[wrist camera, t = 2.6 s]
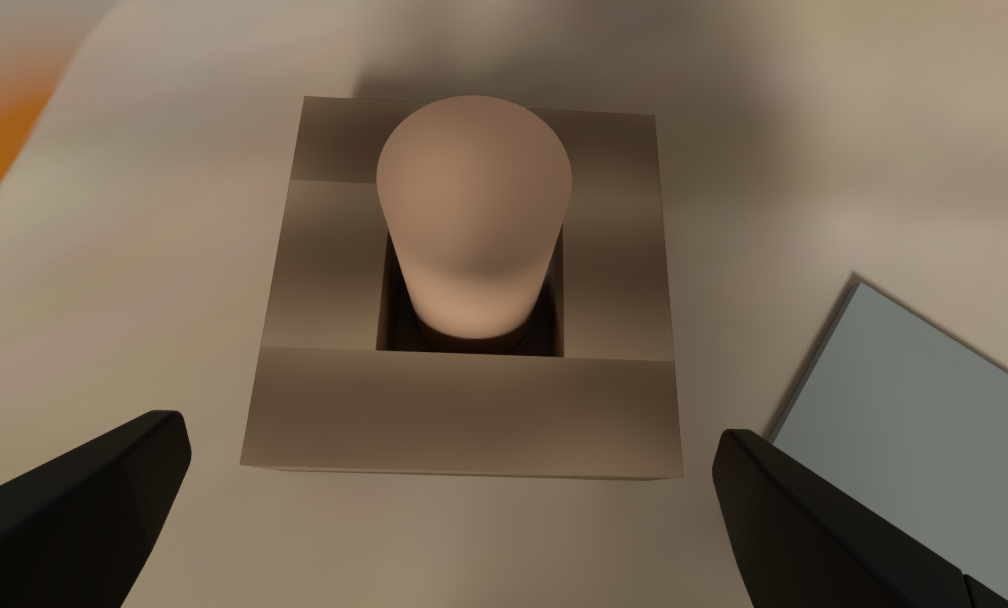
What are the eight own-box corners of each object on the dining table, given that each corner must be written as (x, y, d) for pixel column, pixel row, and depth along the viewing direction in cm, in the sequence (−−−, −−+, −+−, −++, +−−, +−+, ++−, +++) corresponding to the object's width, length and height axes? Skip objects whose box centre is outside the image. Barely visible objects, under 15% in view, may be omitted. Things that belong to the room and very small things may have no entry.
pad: (1022, 735, 19) (1038, 743, 19) (725, 518, 21) (732, 519, 21) (1113, 452, 23) (1130, 450, 22) (852, 286, 25) (860, 282, 24)
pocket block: (646, 480, 22) (683, 477, 18) (281, 470, 21) (239, 464, 17) (628, 170, 26) (654, 115, 22) (329, 155, 26) (304, 95, 22)
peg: (555, 320, 24) (611, 202, 14) (455, 384, 22) (443, 301, 13) (491, 231, 25) (502, 67, 15) (393, 287, 24) (340, 147, 14)
